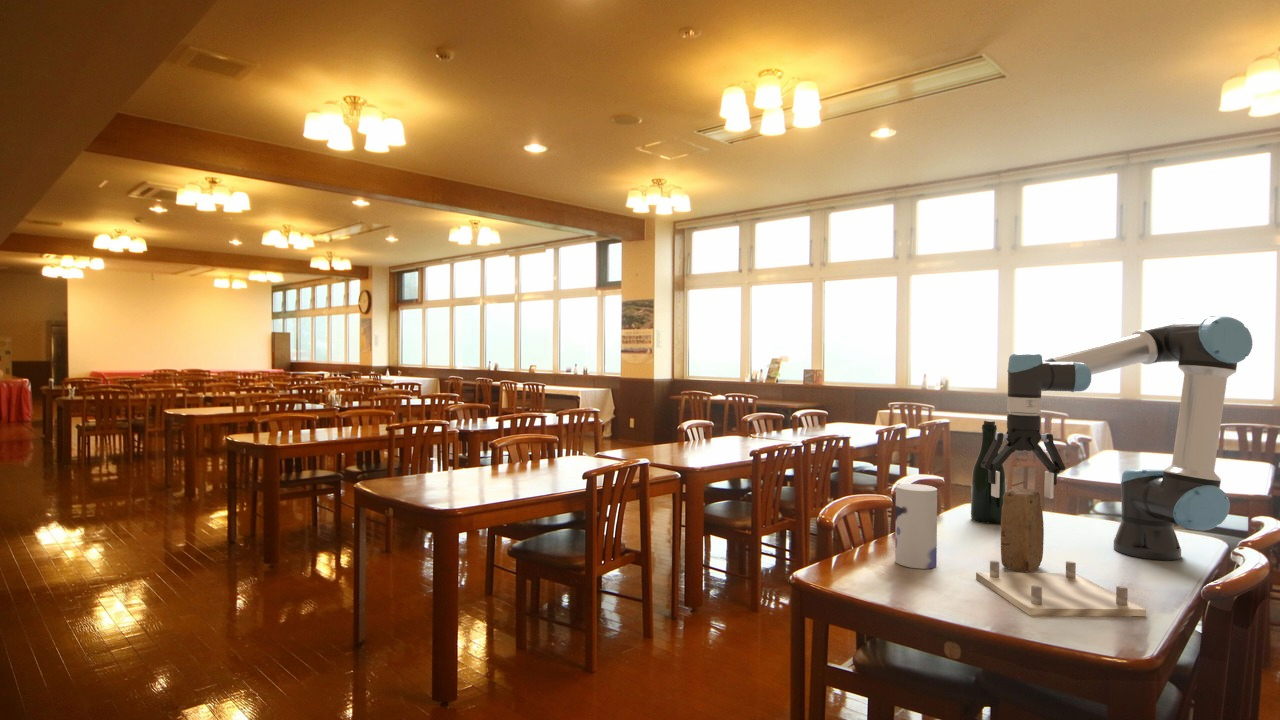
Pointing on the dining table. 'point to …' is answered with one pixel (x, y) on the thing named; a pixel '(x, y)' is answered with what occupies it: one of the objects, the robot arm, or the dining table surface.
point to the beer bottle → (986, 483)
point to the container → (916, 526)
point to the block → (1022, 530)
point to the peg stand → (1059, 593)
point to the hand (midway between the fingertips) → (1021, 497)
